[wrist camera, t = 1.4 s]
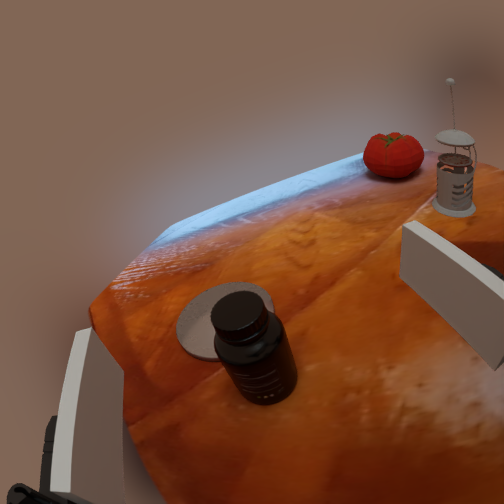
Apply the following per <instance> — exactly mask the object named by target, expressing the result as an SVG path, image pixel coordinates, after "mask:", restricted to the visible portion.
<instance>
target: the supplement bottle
mask: <svg viewBox="0 0 504 504" xmlns="http://www.w3.org/2000/svg"><path fill="white" fill-rule="evenodd" d="M210 318H211V323H212V325H213V327H214V329H215V332H216V333H215V336H214V350H215V352H216V354H217V356H218V358H219V360H220V361H221V363H222V365H223V366H224V368H225V369H226V371H227V373H228V374H229V376H230V377H231V379H232V380H233V382H234V384H235V385H236V387H237V388H238V390H239V391H240V392H241V394H242V395H243V396H244V397H245V398H246V399H247V400H249V401H251V402H253V403H256V404H272V403H276V402H278V401H280V400H282V399H284V398H285V397H286V396H288V395H289V394H290V393H291V391H292V390H293V389H294V387H295V385H296V382H297V369H296V365H295V361H294V358H293V355H292V352H291V348H290V345H289V342H288V338H287V335H286V332H285V329H284V326H283V324H282V322H281V320H280V319H279V318H278V317H277V316H276V315H275V314H274V313H272V312H271V311H268V310H267V308H266V307H265V304H264V301H263V299H262V298H261V297H260V296H259V295H258V294H257V293H254V292H251V291H245V290H244V291H237V292H233V293H230V294H228V295H225V296H224V297H223V298H221V299H220V300H219V301H217V303H216V304H215V305H214V307H213V308H212V311H211V315H210Z"/></svg>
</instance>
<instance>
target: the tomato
mask: <svg viewBox="0 0 504 504" xmlns="http://www.w3.org/2000/svg"><path fill="white" fill-rule="evenodd" d="M363 160H364V163H365V165H366V166H367V168H368V169H370V170H371V171H372V172H373V173H375V174H377V175H380V176H383V177H391V178H402V177H405V176H407V175H409V174H410V173H411V172H413V171H415V170H417V169H418V168H419V167H420V165H421V164H422V162H423V160H424V151H423V148H422V147H421V145H420V143H419V142H418V141H417V140H416V139H415V138H414V137H412V136H409V135H406V136H403V135H401V134H400V133H391V134H389V135H387V136H385V135H383V134H377V135H375V136H373V137H371V139H370V140H369V141H368V144H367V146H366V148H365V151H364V154H363Z"/></svg>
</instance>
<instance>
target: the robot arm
mask: <svg viewBox="0 0 504 504" xmlns="http://www.w3.org/2000/svg"><path fill="white" fill-rule="evenodd" d="M399 277H400V278H401V279H402V280H403V281H404V282H405V283H407V284H408V285H409V286H410V287H411V288H412V289H413V290H414V291H415V292H416V293H417V294H419V295H420V296H421V297H422V298H423V299H424V300H425V301H426V302H427V303H428V304H429V305H430V306H431V307H432V308H433V309H434V310H435V311H436V312H438V313H439V314H440V315H441V316H442V317H443V318H444V319H445V320H446V321H447V322H448V323H449V324H450V325H451V326H452V327H453V328H454V329H455V330H456V331H457V332H458V333H459V334H460V335H461V336H462V337H463V338H464V339H465V340H466V341H467V342H468V343H469V344H470V345H471V347H472V348H473V349H474V350H475V351H476V352H477V353H478V354H479V355H480V356H481V357H482V358H483V359H484V360H485V361H486V362H487V364H488V365H489V366H490V367H491V368H492V369H493V370H494V371H495V370H496V369H497V368H499V367H500V366H501V365H502V364H503V363H504V276H503V274H501V273H500V272H499V271H497V270H496V269H495V268H493V267H490V266H488V265H485V264H483V263H482V264H480V263H479V262H477V261H476V260H474V259H473V258H472V257H470V256H469V255H467V254H466V253H465V252H463V251H462V250H460V249H459V248H457V247H456V246H454V245H453V244H451V243H450V242H448V241H447V240H445V239H444V238H442V237H441V236H439V235H438V234H436V233H435V232H433V231H432V230H430V229H428V228H427V227H425V226H424V225H422V224H421V223H419V222H417V221H416V220H414V221H412V222H409V223H406V224H404V225H403V226H402V247H401V262H400V274H399ZM123 382H124V371H123V370H122V368H121V367H120V366H119V365H118V363H117V362H116V361H115V359H114V358H113V357H112V355H111V354H110V353H109V351H108V350H107V349H106V347H105V346H104V344H103V343H102V342H101V340H100V339H99V337H98V336H97V335H96V333H95V332H94V330H93V329H92V327H91V328H88V329H84V330H81V331H78V332H76V335H75V339H74V342H73V346H72V350H71V354H70V358H69V362H68V367H67V371H66V375H65V380H64V385H63V390H62V395H61V401H60V406H59V412H58V415H57V416H52V418H51V419H50V422H49V423H48V426H47V428H46V433H45V440H44V441H45V444H44V448H43V452H44V454H43V455H42V464H41V476H40V489H39V492H37V491H35V490H33V489H32V488H30V487H28V486H26V485H24V484H22V483H17V484H15V485H13V486H12V487H11V489H10V490H9V492H8V495H7V504H126V503H125V491H124V476H123V453H122V452H123V450H122V409H123Z"/></svg>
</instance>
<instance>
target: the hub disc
mask: <svg viewBox="0 0 504 504" xmlns="http://www.w3.org/2000/svg"><path fill="white" fill-rule="evenodd" d="M244 290H245V291H251V292H254V293H257V294H258V295H259V296H260V297H261V298H262V299H263V301H264V304H265V307H266V308H267V310H268V311H271V312H272V313H274V314H275V309H274V305H273V302H272V299H271V297H270V295H269V294H268V293H267V292H266V291H265V290H264V289H263V288H261V287H259V286H257V285H255V284H252V283H246V282H232V283H226V284H222V285H218V286H215V287H213V288H210V289H208V290H206V291H204V292H203V293H201V294H200V295H198V296H197V297H195V298H194V299H193V300H192V301H191V302H190V303H189V304H188V305H187V306H186V307H185V308H184V310H183V311H182V313H181V314H180V316H179V319H178V322H177V327H176V333H177V337H178V340H179V342H180V343H181V345H182V346H183V348H184V349H185V351H186V352H187V353H188V354H190V355H191V356H193V357H194V358H197V359H199V360H203V361H208V362H221V361H220V360H219V358H218V356H217V354H216V352H215V350H214V336H215V333H216V332H215V329H214V327H213V325H212V323H211V318H210V315H211V311H212V308H213V307H214V305H215V304H216V303H217V301H219V300H220V299H221V298H223V297H224V296H225V295H228V294H230V293H233V292H237V291H244Z"/></svg>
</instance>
